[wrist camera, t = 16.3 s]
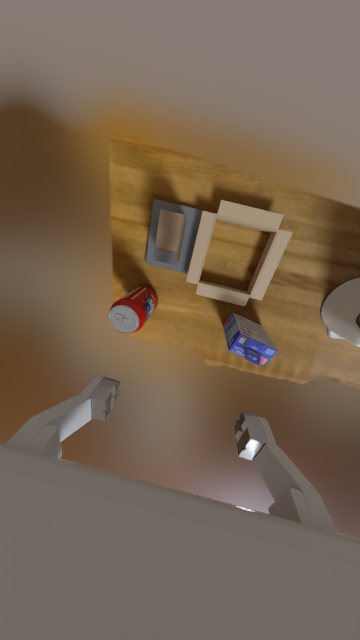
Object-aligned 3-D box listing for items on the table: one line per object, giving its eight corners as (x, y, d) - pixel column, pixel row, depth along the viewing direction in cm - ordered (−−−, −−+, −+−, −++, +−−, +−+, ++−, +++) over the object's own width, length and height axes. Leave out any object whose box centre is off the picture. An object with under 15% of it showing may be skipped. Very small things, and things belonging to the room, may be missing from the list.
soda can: (138, 280, 46) (111, 295, 32) (163, 293, 47) (147, 313, 33) (129, 303, 49) (101, 326, 36) (152, 315, 50) (134, 342, 36)
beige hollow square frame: (290, 220, 36) (299, 218, 33) (253, 305, 45) (257, 309, 42) (205, 200, 36) (206, 196, 33) (184, 287, 45) (183, 291, 42)
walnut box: (187, 220, 38) (183, 214, 30) (178, 261, 42) (173, 264, 34) (168, 215, 38) (160, 208, 30) (161, 257, 42) (153, 259, 34)
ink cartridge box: (221, 326, 49) (228, 357, 36) (231, 311, 46) (243, 337, 33) (250, 340, 49) (268, 374, 36) (262, 325, 47) (285, 356, 34)
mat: (205, 211, 37) (205, 211, 36) (190, 273, 43) (190, 274, 43) (154, 199, 38) (153, 198, 37) (146, 262, 44) (145, 262, 43)
